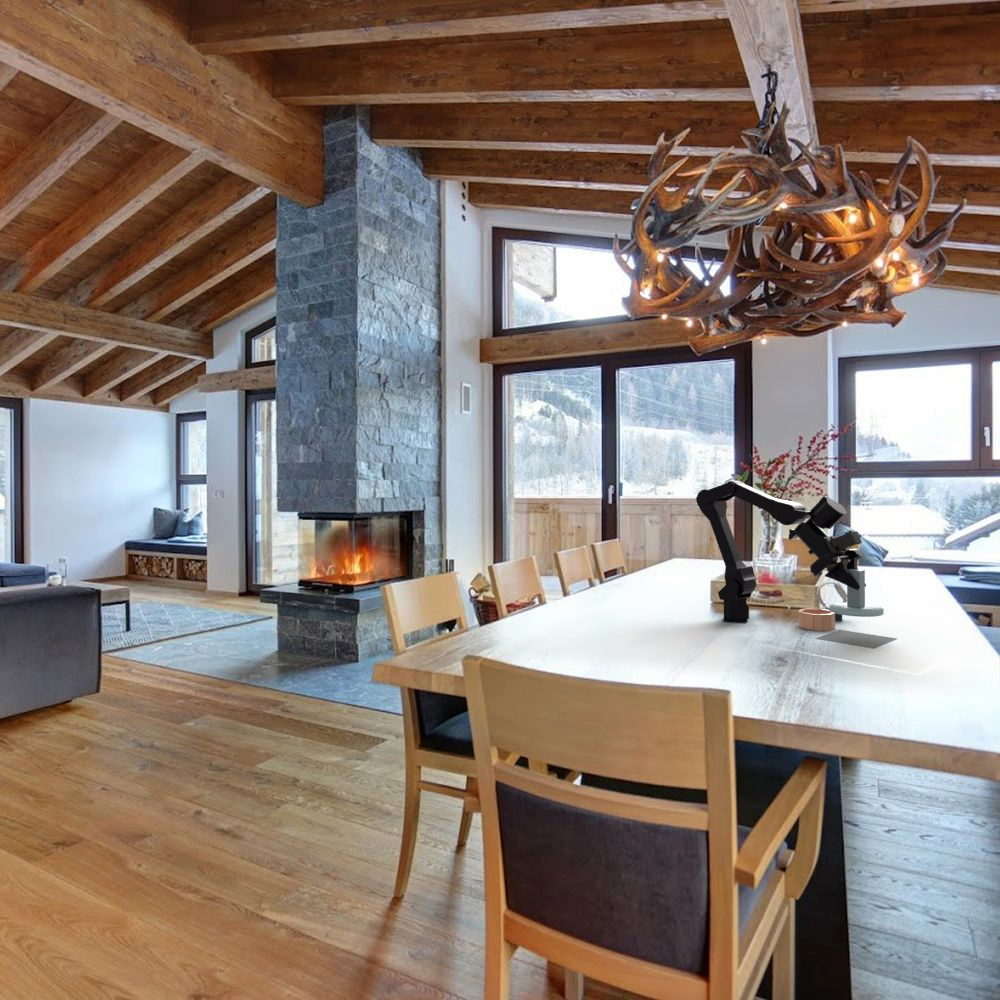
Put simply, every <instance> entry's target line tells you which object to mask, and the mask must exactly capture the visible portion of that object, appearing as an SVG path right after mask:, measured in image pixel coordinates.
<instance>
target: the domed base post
mask: <svg viewBox="0 0 1000 1000" xmlns="http://www.w3.org/2000/svg"><path fill="white" fill-rule="evenodd" d="M848 571H849V572H850V573H851V575H852V576H853V577H854V579H855V580H856V581H857V583H858V584H859V586H860V588H859V589H858V590H856V589H854V588H851V587H849V586H847V585H846V594H847V602H846V603H842V602H835V603H831V604H829V606H828V607H829V610H830V611H831V612H833V613H836V614H841V615H842V616H847V617H862V618H863V617H864V618H866V617H867V618H868V617H869V618H872V617H882V616H883V615H884V608H883V607H882V606H879V605H875V604H870V603H866V587H865V584H866V581H865V580H866V570H865V569H859V568H858V569H850V570H848Z"/></svg>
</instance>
